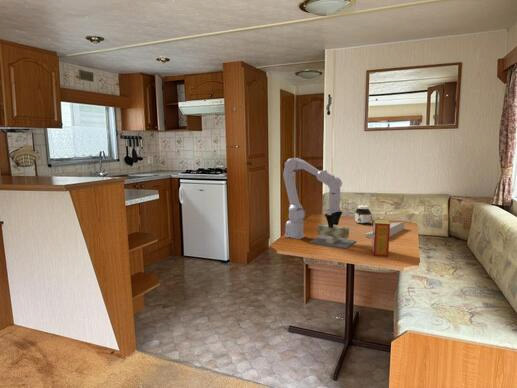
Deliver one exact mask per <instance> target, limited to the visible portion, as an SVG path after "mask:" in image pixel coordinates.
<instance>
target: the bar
mask: <svg viewBox="0 0 517 388" xmlns="http://www.w3.org/2000/svg"><path fill="white" fill-rule="evenodd" d="M317 235H318V236H321V235H323V236H329V237H330V236H332V237H338V238H343V239H348V238H349V236H350V227H344V226H338V225H333V228H329V226H328V224H323V223H321V224H318V225H317Z"/></svg>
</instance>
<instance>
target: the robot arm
mask: <svg viewBox="0 0 517 388" xmlns="http://www.w3.org/2000/svg"><path fill="white" fill-rule="evenodd" d="M299 170H304V171H306V172H308V173H311V174H312V175H314V176H316V180H318V181H319V182H320V183H322V184H324V185H326V186H328V188H329V190H328V191H329V192H328V209H327V212H326V213H325V214H324V216H325V218H326V221H327V225H328V226H329V228H333V226H338V225H339V222H340V219H341V216H342V215H343V210H342V209H341V207H340V206H341V187H342V185H343V181H342V179H341V178H340V177H337V176H335V175H334V174H333V175H332V174H331V173H329V172H328V170H323V169H322V170H319V169H318V168H316V167H315V166H313V165H312V164H310V163H308V162H307V161H306V160H304V159H301V158H300V157H293V158H288V159H287V160H286V162H285V163H284V169H283V173H282V176H283V180H284V184H285V189H286V193H287V197H288V202H289V207H288V219H289V220H287V221H286V223H285V233H284V234H285V235H284V237H285V238H289V237H290V239H297V240H302V239H303V238H305V237H306V236H307V235H306V234H305V235H304V219H305V216H306V211H305V209H304V208H303V206H302V204H301V203H300V199H299V195H298V190H297V187H296V183H295V179H294V178H295V177H294V175H295V174H296V172H298V171H299Z"/></svg>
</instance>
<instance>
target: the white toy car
mask: <svg viewBox="0 0 517 388" xmlns="http://www.w3.org/2000/svg"><path fill="white" fill-rule="evenodd" d="M374 219H376V218H375V216H374V213H372V212H371V211H370V206H369V205H365V204H364V205H361V204H360V205H358V206H357V209H355V213H354V220H355V223H356V224H358V225H361V226H362V225H363V226H365V225H366V226H367V225H369V224H370V223H372V224H373V220H374Z"/></svg>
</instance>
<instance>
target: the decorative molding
mask: <svg viewBox="0 0 517 388" xmlns="http://www.w3.org/2000/svg"><path fill="white" fill-rule="evenodd" d="M404 230H405V225H404V221H403V222H402V221H401V222H399V221H398V222H392V223H390V234H389V238H391V237H393V236H394V234H395V235H396V234H399V233H400V232H402V231H404ZM364 236H365V238H368V239H372V238H373V230H371V231H369V232H367V233H365V234H364Z"/></svg>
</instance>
